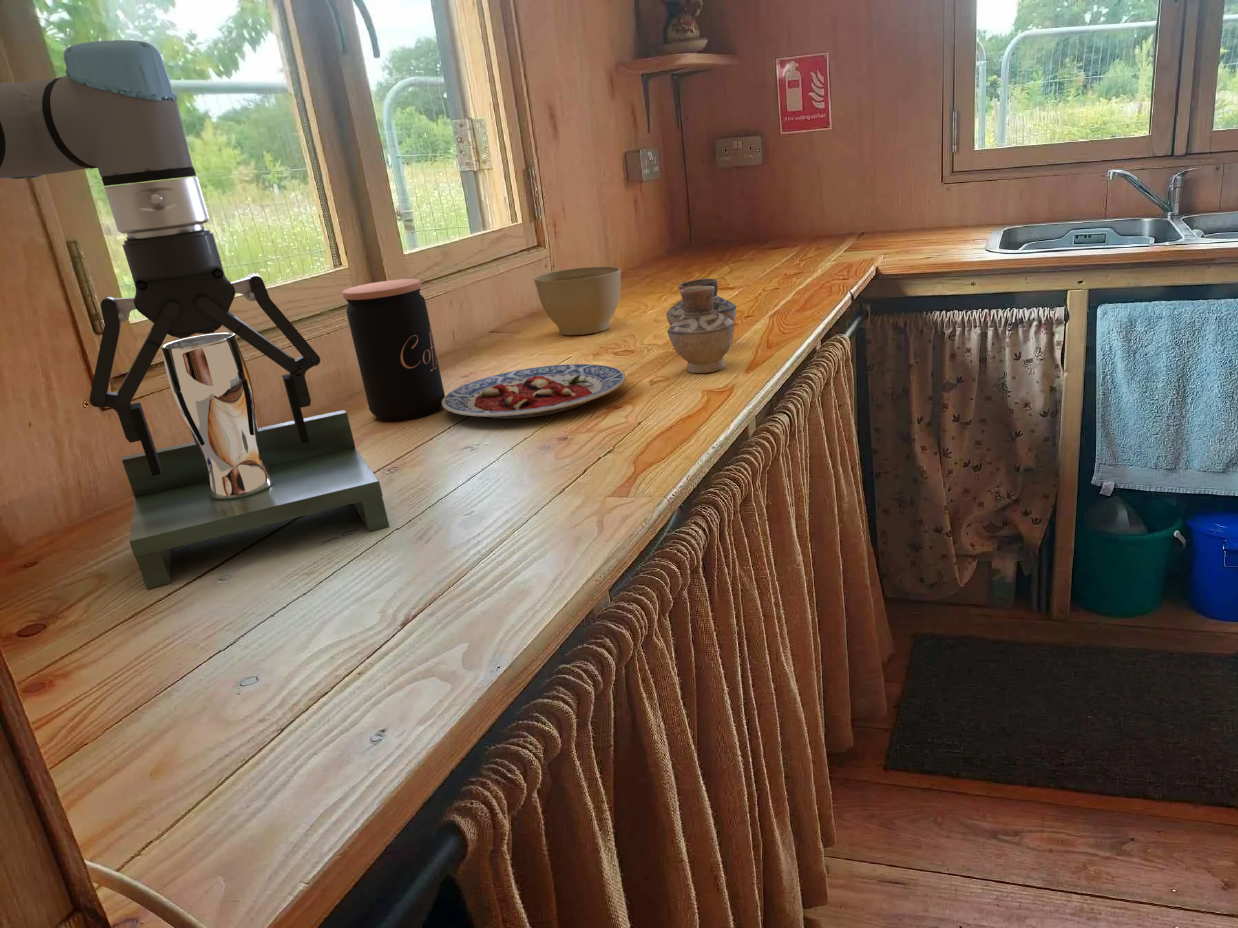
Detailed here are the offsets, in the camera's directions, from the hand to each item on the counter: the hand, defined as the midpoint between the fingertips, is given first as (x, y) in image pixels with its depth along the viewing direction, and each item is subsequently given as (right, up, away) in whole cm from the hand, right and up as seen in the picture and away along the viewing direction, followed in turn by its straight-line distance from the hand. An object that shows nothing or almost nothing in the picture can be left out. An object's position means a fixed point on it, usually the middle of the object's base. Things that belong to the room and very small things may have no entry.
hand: (232, 455), depth 95 cm
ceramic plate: (+23, +10, +42) cm, 49 cm away
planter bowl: (+25, +29, +89) cm, 97 cm away
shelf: (+2, -8, +4) cm, 9 cm away
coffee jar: (+5, +9, +45) cm, 46 cm away
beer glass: (0, -3, +2) cm, 4 cm away
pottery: (+48, +19, +56) cm, 76 cm away
